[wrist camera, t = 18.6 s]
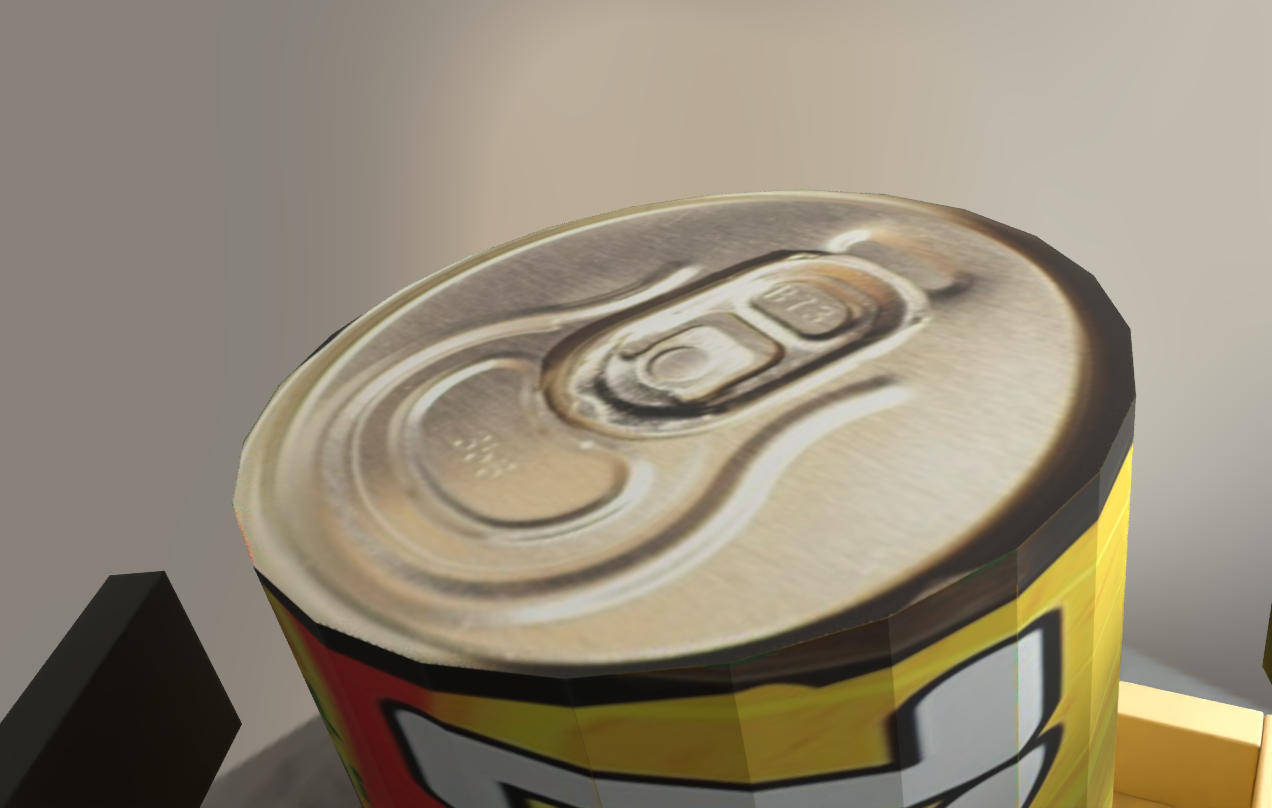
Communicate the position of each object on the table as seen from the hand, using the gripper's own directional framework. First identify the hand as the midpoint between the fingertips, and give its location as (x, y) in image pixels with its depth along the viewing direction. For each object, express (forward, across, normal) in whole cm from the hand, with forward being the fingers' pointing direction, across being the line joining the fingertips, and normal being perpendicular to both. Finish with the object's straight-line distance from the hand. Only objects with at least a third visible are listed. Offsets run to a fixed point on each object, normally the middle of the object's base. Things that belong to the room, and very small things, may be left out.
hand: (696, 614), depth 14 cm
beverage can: (0, 0, -9) cm, 9 cm away
